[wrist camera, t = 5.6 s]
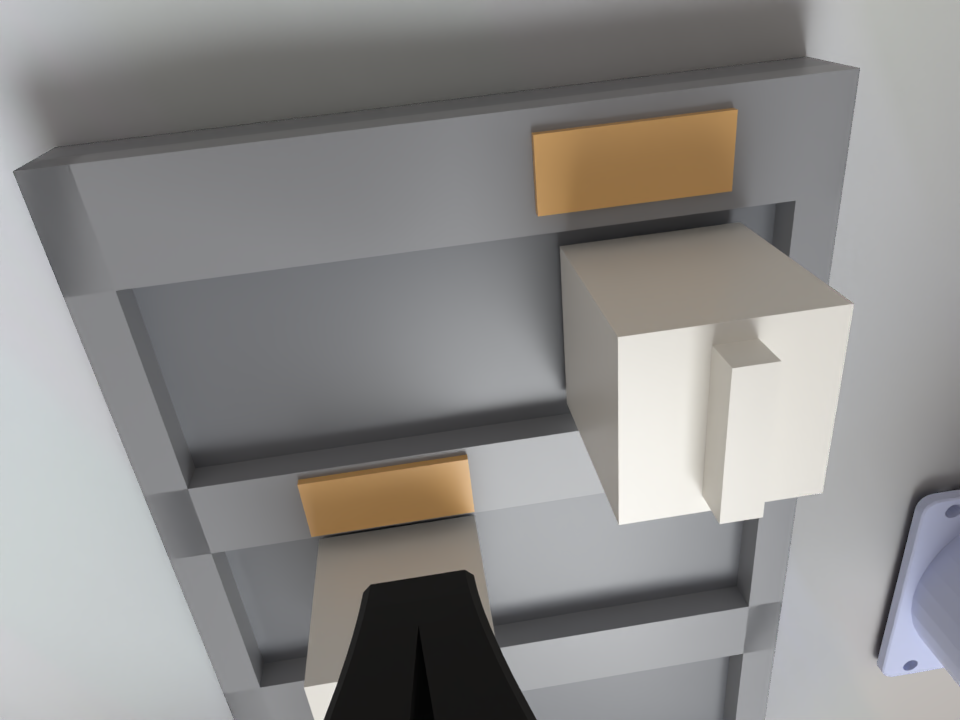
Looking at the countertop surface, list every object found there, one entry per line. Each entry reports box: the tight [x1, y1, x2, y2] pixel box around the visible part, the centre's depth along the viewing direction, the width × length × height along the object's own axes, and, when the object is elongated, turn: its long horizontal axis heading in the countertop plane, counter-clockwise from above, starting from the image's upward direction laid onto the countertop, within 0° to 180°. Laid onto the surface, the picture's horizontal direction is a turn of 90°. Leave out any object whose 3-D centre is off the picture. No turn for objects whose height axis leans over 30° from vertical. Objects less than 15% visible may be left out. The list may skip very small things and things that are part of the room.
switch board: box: [13, 57, 860, 720], centre depth 20 cm, size 16×24×2 cm, turn 5°
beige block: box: [304, 515, 495, 720], centre depth 18 cm, size 4×4×5 cm
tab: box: [560, 222, 854, 525], centre depth 15 cm, size 4×4×5 cm
